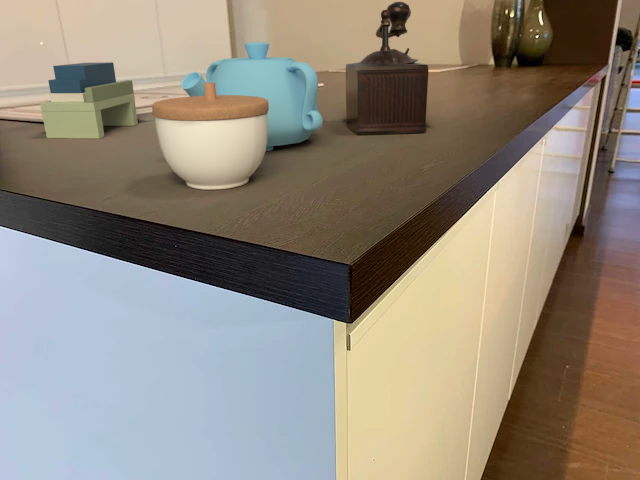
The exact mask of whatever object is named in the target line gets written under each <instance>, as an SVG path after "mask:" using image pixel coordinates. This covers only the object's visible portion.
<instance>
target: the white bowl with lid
mask: <svg viewBox="0 0 640 480" xmlns="http://www.w3.org/2000/svg"><path fill="white" fill-rule="evenodd" d="M204 90H205V96H191V97H190V96H181V97H172V98H167V99H161V100H158V101H157V100H156V101H155V102H153V103H152V105H151V111H152V115H153V117H154V123H155V130H156V137H157V140H158V144H159V145H158V146H159V147H160V151H161V153H162V156H163V157H164V160H165V162H166V163H167V165H168V167H169V168H170V169H171V170H172V172H174V174H175V175H177V176H178V177H179V178H181V179H182V180H183V181H185V184H186V186H187V187H189V188H192V189H197V190H208V191H209V190H214V191H215V190H226V189H233V188H238V187H241V186H243V185H246V184H247V183H249V181H250V177H251V176H252V175H253V174H254V173H255V172H256V171H257V169H258V168H259V167H260V165H261V164H262V161H263V160H264V157H265V154H266V152H267V151H266V146H267V140H268V111H269V104H268V100H267V99H265V98H261V97H255V96H241V95H216V87H215V83H204Z"/></svg>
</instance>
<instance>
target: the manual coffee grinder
mask: <svg viewBox="0 0 640 480" xmlns="http://www.w3.org/2000/svg"><path fill="white" fill-rule="evenodd" d="M411 14H412V10H411V8H410V5H409V4H408V3H406V2H404V1H393V2H392V3H390V4H389V5H388V6H387V8H386V9H383V10H381V11H380V19H381V20H380V25H379V27H378V28H377V30H376V31H375V36H376V37H377V38H380V39H381V47H380V49H379V50H376V51H373V52H371V53H369V54H367V55H366V56H364V58H363V59H361V61H359V62H353V63H346V64H345V108H346V109H345V112H346V121H345V123H346V127H347V128H348V129H349V130H350V131H351V132H353V133H354V134H355V135H392V134H416V133H417V134H418V133H423V134H424V133H426V132H427V126H426V124H427V107H428V105H427V104H428V87H429V65H428V64H425V63H420V62H419V59H417V58H412V57H411V56H410V55H408V54H409V51H410V48H409V47H408V48H406V49H405V52H403V51H401V50H398V49H395V48H391V47H390V45H389V41H390V40H389V39H391V38H393V37H396V38H400V36H402V35H405V34H407V33H408V29H407V27H406V23H407V22H408V20H409V18H410V17H411ZM389 28H390V29H389Z"/></svg>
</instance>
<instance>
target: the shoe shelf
mask: <svg viewBox="0 0 640 480" xmlns="http://www.w3.org/2000/svg"><path fill="white" fill-rule="evenodd" d="M85 94H86V100H87V101H86V102H51V100H47V101H42V102H39V105H40V110H41V111H40V112H41V115H42V120H43V125H44V131H45V137H46V139H75V140H76V139H78V140H79V139H80V140H81V139H84V140H85V139H88V140H89V139H90V140H91V139H92V140H93V139H94V140H95V139H96V140H97V139H99V140H100V139H102V138H105V131H104V127H118V126H119V127H136V126H138V125H139V122H138V121H139V120H138V114H137V107H136V100H135V92H134V85H133V80H131V79H129V80H128V79H127V80H121V81H116V82H115V83H109V84H104V85H98V86H93V87H87V88H85Z"/></svg>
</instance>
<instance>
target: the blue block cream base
mask: <svg viewBox="0 0 640 480" xmlns="http://www.w3.org/2000/svg"><path fill="white" fill-rule="evenodd" d="M52 67H53V73H54V78H53V79H48V81H47V82H48V87H49V99H50V101H51V102H86V101H87V100H86V94H85V88H87V87H93V86H98V85H104V84H109V83H115V82H117V77H116V73H115V64H114V62H111V61H110V62H80V63H69V64H57V65H52Z"/></svg>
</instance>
